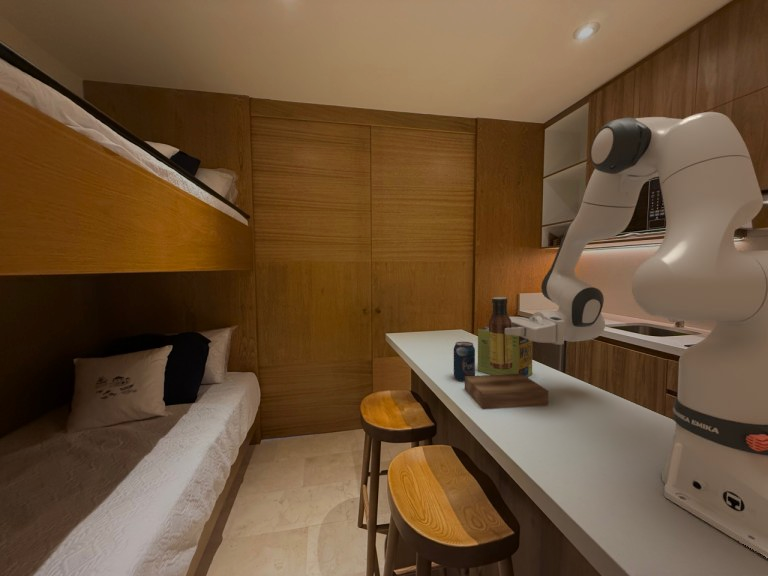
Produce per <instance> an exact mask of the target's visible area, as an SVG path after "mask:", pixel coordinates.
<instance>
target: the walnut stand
mask: <svg viewBox="0 0 768 576" xmlns="http://www.w3.org/2000/svg"><path fill="white" fill-rule="evenodd" d="M464 390H465V391H466V393H468V394H469V395H470V397H471V398H472V399H473V400H474V401H475V402H476V404H478V405H479V407H480V408H482V409H483V410H485V409H486V410H487V409H506V408H522V407H523V408H524V407H540V406H541V407H542V406H548V405H549V389H546V388H545V387H543V386H541V385H540V384H538V383H536V382H535V381H534V380H532V379H530V378H529V377H526V376H524V375H522V374H504V375H491V374H487V375H485V374H484V375H483V374H482V375H475V376H465V382H464Z"/></svg>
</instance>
